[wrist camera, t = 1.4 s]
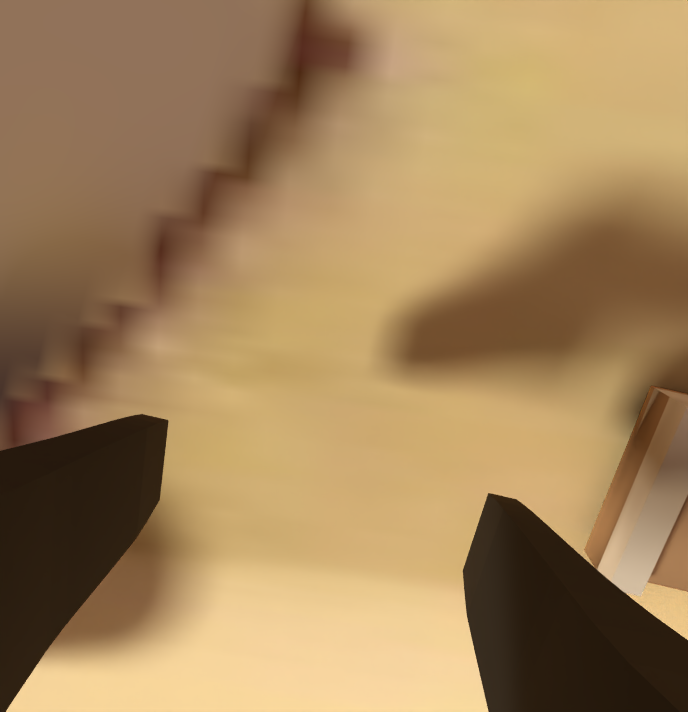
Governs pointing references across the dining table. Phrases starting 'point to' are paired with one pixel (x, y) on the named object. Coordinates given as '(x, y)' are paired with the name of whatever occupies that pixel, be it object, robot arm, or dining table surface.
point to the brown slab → (648, 502)
